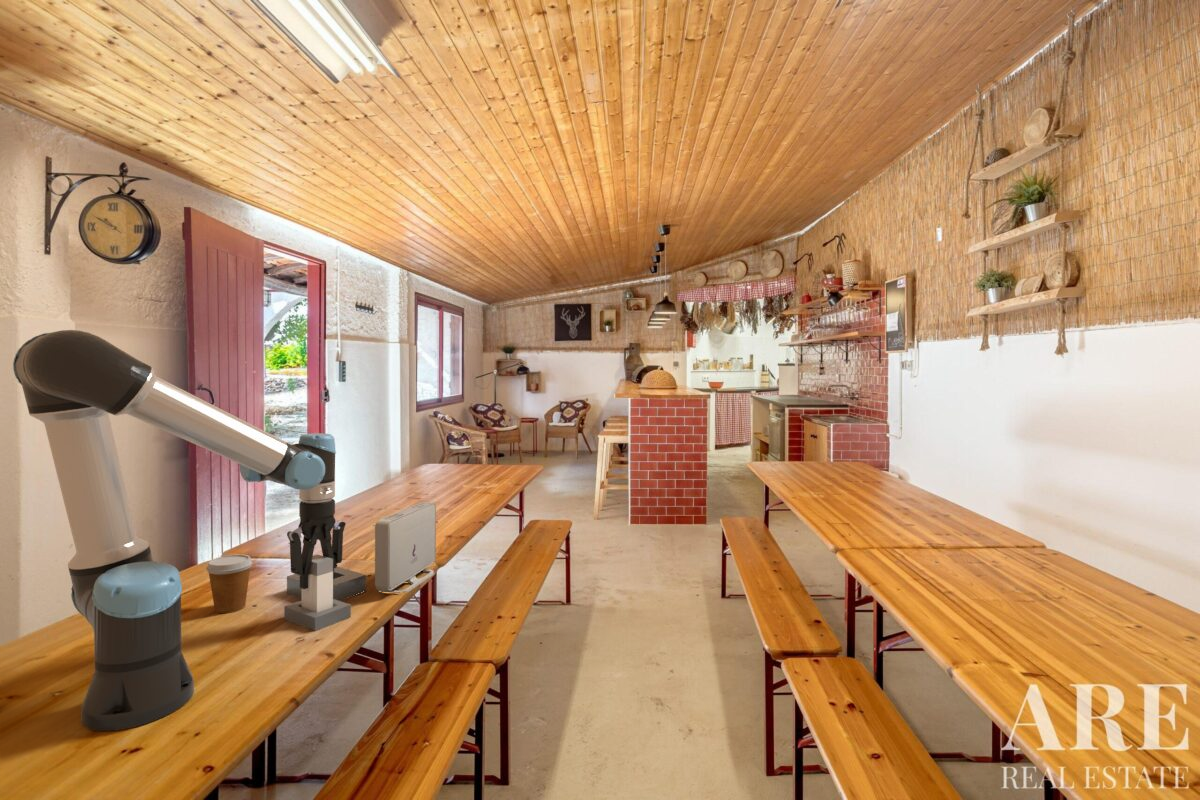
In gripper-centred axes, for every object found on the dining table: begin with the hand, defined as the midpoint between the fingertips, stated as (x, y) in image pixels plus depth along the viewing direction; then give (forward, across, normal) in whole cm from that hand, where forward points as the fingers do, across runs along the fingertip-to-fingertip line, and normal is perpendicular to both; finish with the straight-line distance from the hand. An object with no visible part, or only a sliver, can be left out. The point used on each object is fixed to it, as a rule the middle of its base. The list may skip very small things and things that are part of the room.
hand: (317, 597), depth 136 cm
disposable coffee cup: (+5, -8, +23) cm, 25 cm away
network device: (+5, +28, +2) cm, 29 cm away
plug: (+5, 0, 0) cm, 5 cm away
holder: (+5, 0, 0) cm, 5 cm away
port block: (+5, +11, +13) cm, 18 cm away
